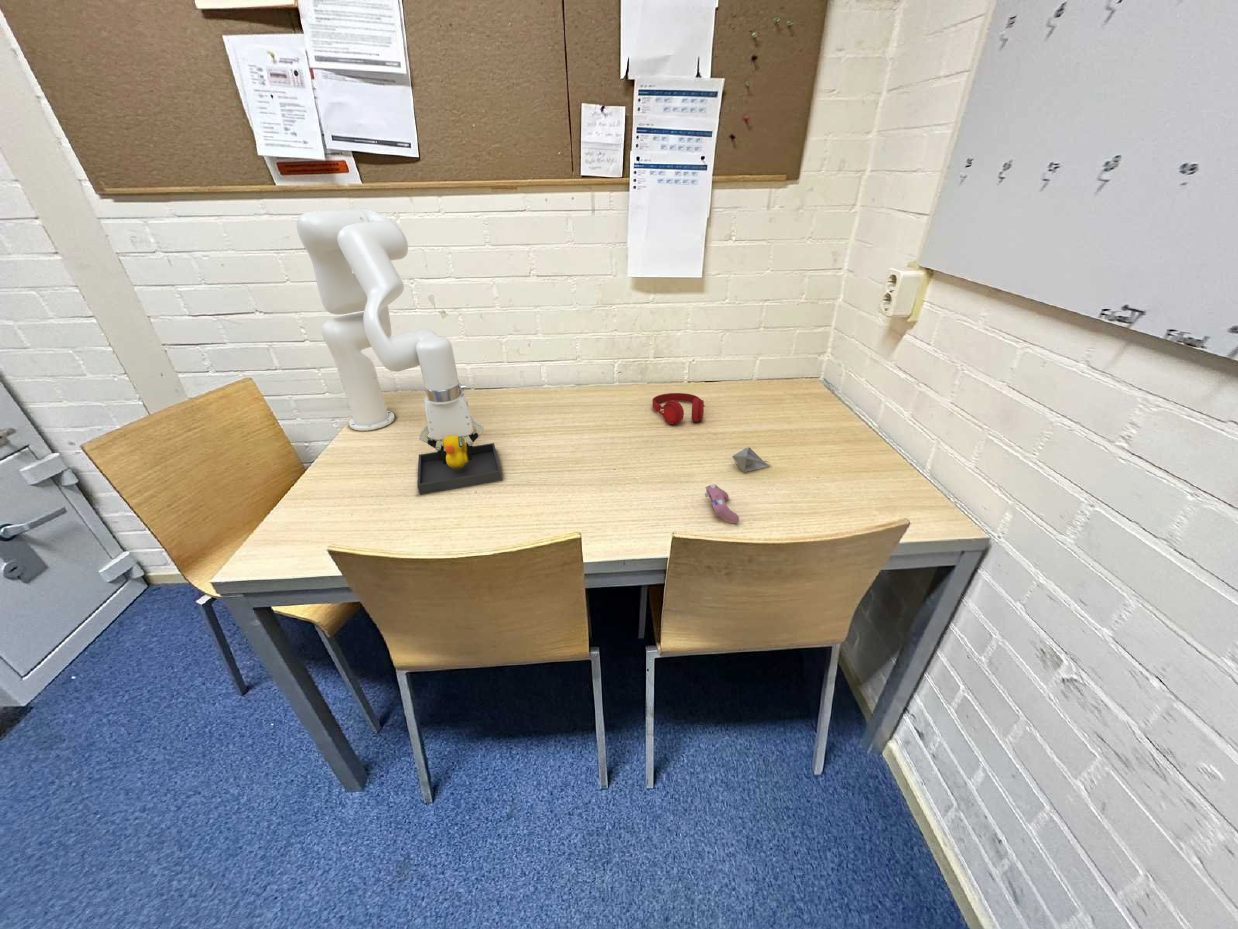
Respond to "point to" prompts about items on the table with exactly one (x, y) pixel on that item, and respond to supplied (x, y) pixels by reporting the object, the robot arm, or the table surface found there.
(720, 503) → the pink elongated piece
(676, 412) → the headphones
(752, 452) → the paper boat
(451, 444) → the duckling
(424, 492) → the pan
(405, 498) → the table surface
